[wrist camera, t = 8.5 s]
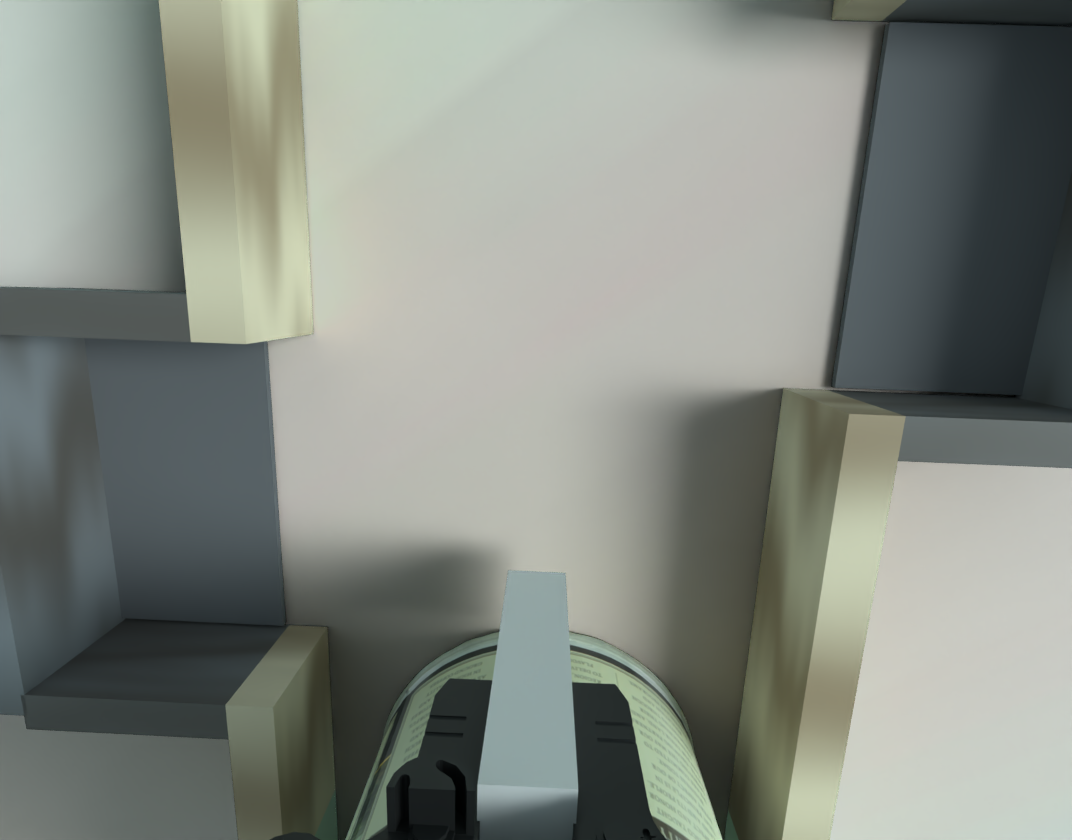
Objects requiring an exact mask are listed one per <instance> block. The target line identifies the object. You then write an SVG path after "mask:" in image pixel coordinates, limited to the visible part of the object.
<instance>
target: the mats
mask: <svg viewBox="0 0 1072 840" xmlns="http://www.w3.org/2000/svg"><path fill="white" fill-rule="evenodd" d="M1071 173H1072V27H1054V26H1018V25H982V24H945V23H909V22H889V23H888V24H887V25H886V26H885V31H884V37H883V44H882V51H881V57H880V64H879V71H878V78H877V84H876V91H875V98H874V104H873V111H872V118H871V124H870V131H869V138H868V145H867V151H866V158H865V165H864V171H863V178H862V185H861V191H860V198H859V205H858V212H857V218H856V225H855V232H854V238H853V245H852V252H851V258H850V265H849V272H848V279H847V285H846V292H845V299H844V305H843V312H842V319H841V325H840V332H839V339H838V345H837V352H836V359H835V366H834V372H833V379H832V386H831V387H834V388H855V389H881V390H907V391H932V392H958V393H984V394H1009V395H1022V392H1023V388H1024V383H1025V379H1026V374H1027V370H1028V365H1029V361H1030V356H1031V352H1032V347H1033V343H1034V339H1035V334H1036V330H1037V325H1038V321H1039V316H1040V312H1041V307H1042V303H1043V298H1044V294H1045V289H1046V285H1047V280H1048V276H1049V271H1050V267H1051V262H1052V258H1053V253H1054V249H1055V244H1056V240H1057V235H1058V231H1059V226H1060V222H1061V217H1062V213H1063V209H1064V204H1065V200H1066V195H1067V191H1068V186H1069V182H1070V177H1071ZM84 340H85V348H86V355H87V363H88V370H89V377H90V385H91V392H92V400H93V407H94V415H95V422H96V429H97V437H98V444H99V452H100V459H101V466H102V474H103V481H104V489H105V496H106V504H107V511H108V518H109V526H110V533H111V541H112V548H113V555H114V563H115V570H116V578H117V585H118V593H119V600H120V607H121V615H122V618H128V619H149V620H170V621H192V622H213V623H234V624H255V625H277V626H283V625H284V624H285V623H286V617H285V602H284V587H283V571H282V556H281V541H280V526H279V511H278V496H277V480H276V465H275V450H274V435H273V420H272V405H271V389H270V374H269V359H268V344H267V341H264V342H257V343H250V344H229V343H203V342H177V341H151V340H125V339H99V338H84Z"/></svg>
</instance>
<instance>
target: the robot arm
mask: <svg viewBox="0 0 1072 840" xmlns="http://www.w3.org/2000/svg"><path fill="white" fill-rule="evenodd" d="M386 799H387V827H386V828H385V829H384V830H383V831H382V832H380V833H378V834H377V835H375V836H374V837H372V838H370V839H368V840H667V839H666V838H665V837H664V836H663V835H662V833H661V832H660V831H659V829H658V828H657V826H656V824H655V823H654V821H653V818H652V815H651V812H650V809H649V804H648V799H647V794H646V789H645V784H644V779H643V773H642V768H641V763H640V758H639V753H638V748H637V744H636V737H635V732H634V727H633V722H632V717H631V712H630V706H629V702H628V701H627V699H626V698H625V696H624V695H623V694H622V692H621V691H620V690H619V688H618V687H617V686H616V684H601V683H578V682H572V675H571V658H570V642H569V625H568V608H567V592H566V575H565V573H557V572H534V571H511V570H508V576H507V583H506V590H505V597H504V604H503V611H502V618H501V625H500V632H499V638H498V645H497V652H496V659H495V666H494V673H493V680H476V679H454V678H449V680H448V681H447V682H446V683H445V684H444V685H443V686H442V688H441V689H440V690H439V691H438V692H437V693H436V695H435V697H434V701H433V704H432V708H431V711H430V715H429V719H428V722H427V726H426V729H425V735H424V736H423V740H422V744H421V747H420V751H419V754H418V757H417V758H414V759H412V760H410V761H407V762H406V763H405V764H404V765H402V766H401V767H400V768H399V769H398V770H397V771H396V772H394V774H393V776H392V777H391V779H390V781H389V783H388V785H387V786H386ZM270 840H320V839H318V838H317V837H315V836H313V835H312V834H310V833H300V832H291V833H287V834H284V835H280V836H276V837H273V838H272V839H270Z"/></svg>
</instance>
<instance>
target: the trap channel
mask: <svg viewBox="0 0 1072 840" xmlns="http://www.w3.org/2000/svg"><path fill="white" fill-rule="evenodd" d="M159 10H160V21H161V31H162V42H163V52H164V63H165V73H166V84H167V94H168V105H169V116H170V126H171V137H172V147H173V158H174V168H175V179H176V189H177V200H178V211H179V221H180V232H181V242H182V253H183V263H184V274H185V284H186V292H165V291H138V290H111V289H83V288H38V287H0V714H4V715H24V717H25V723H26V728H27V729H35V730H55V731H74V732H94V733H114V734H133V735H153V736H173V737H192V738H212V739H229V749H230V759H231V770H232V780H233V791H234V802H235V812H236V823H237V833H238V840H270V839H272V838H273V837H276V836H280V835H284V834H287V833H291V832H300V833H310V834H312V835H313V836H315V834H316V832H317V830H318V828H319V825H320V823H321V821H322V818H323V816H324V814H325V812H326V809H327V807H328V805H329V802H330V800H331V798H332V796H333V793H334V791H335V769H334V749H333V728H332V707H331V687H330V666H329V645H328V627H318V626H296V625H283V626H277V625H255V624H234V623H213V622H192V621H170V620H149V619H128V618H122V615H121V607H120V600H119V593H118V585H117V578H116V570H115V563H114V555H113V548H112V541H111V533H110V526H109V518H108V511H107V504H106V496H105V489H104V481H103V474H102V466H101V459H100V452H99V444H98V437H97V429H96V422H95V415H94V407H93V400H92V392H91V385H90V377H89V370H88V363H87V355H86V348H85V340H84V338H99V339H125V340H151V341H177V342H203V343H229V344H250V343H257V342H264V341H270V340H277V339H283V338H290V337H297V336H303V335H310V334H313V315H312V294H311V274H310V253H309V232H308V212H307V191H306V170H305V150H304V129H303V108H302V88H301V67H300V46H299V26H298V5H297V0H159ZM832 20H857V21H893V22H930V23H966V24H1002V25H1039V26H1072V0H834V5H833V12H832ZM898 461H910V462H934V463H958V464H983V465H1007V466H1031V467H1056V468H1072V173H1071V177H1070V182H1069V186H1068V191H1067V195H1066V200H1065V204H1064V209H1063V213H1062V217H1061V222H1060V226H1059V231H1058V235H1057V240H1056V244H1055V249H1054V253H1053V258H1052V262H1051V267H1050V271H1049V276H1048V280H1047V285H1046V289H1045V294H1044V298H1043V303H1042V307H1041V312H1040V316H1039V321H1038V325H1037V330H1036V334H1035V339H1034V343H1033V347H1032V352H1031V356H1030V361H1029V365H1028V370H1027V374H1026V379H1025V383H1024V388H1023V392H1022V395H1016V396H1015V397H993V396H967V395H942V394H916V393H891V392H865V391H839V390H814V389H788V388H783V394H782V402H781V409H780V417H779V425H778V432H777V440H776V448H775V455H774V463H773V471H772V478H771V486H770V493H769V501H768V509H767V516H766V524H765V532H764V539H763V547H762V555H761V562H760V570H759V577H758V585H757V593H756V600H755V608H754V616H753V623H752V631H751V639H750V646H749V654H748V661H747V669H746V677H745V684H744V692H743V700H742V707H741V715H740V723H739V730H738V738H737V745H736V753H735V761H734V768H733V776H732V784H731V791H730V799H729V807H728V810H729V813H730V816H731V819H732V822H733V825H734V828H735V831H736V833H737V836H738V839H739V840H830V835H831V829H832V823H833V818H834V812H835V807H836V801H837V796H838V790H839V785H840V779H841V773H842V768H843V762H844V757H845V751H846V746H847V740H848V734H849V729H850V723H851V718H852V712H853V707H854V701H855V696H856V690H857V684H858V679H859V673H860V668H861V662H862V657H863V651H864V646H865V640H866V634H867V629H868V623H869V618H870V612H871V607H872V601H873V595H874V590H875V584H876V579H877V573H878V568H879V562H880V557H881V551H882V545H883V540H884V534H885V529H886V523H887V518H888V512H889V507H890V501H891V495H892V490H893V484H894V479H895V473H896V468H897V462H898Z"/></svg>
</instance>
